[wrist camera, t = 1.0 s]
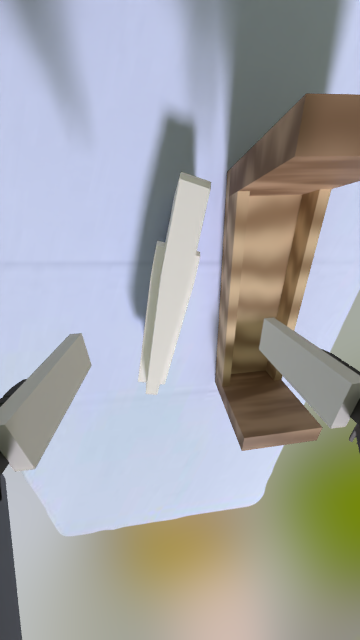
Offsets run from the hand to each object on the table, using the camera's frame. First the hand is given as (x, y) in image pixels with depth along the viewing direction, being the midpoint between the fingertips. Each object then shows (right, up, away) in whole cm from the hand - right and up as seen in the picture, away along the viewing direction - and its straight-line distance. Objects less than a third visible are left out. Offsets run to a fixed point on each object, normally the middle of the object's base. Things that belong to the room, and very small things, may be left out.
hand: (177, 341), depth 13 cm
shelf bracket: (-2, +7, +17) cm, 18 cm away
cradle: (+13, +5, +19) cm, 23 cm away
